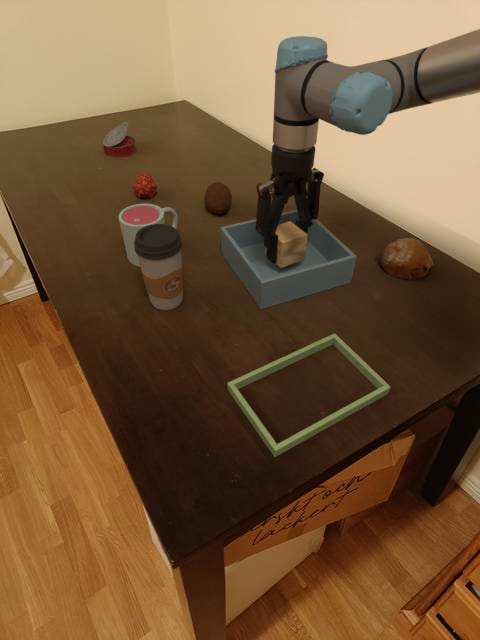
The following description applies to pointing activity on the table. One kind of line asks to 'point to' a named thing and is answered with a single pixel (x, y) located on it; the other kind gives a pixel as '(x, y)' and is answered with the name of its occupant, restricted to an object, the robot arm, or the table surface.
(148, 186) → the red bumpy ball
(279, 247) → the block
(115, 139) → the canned food
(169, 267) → the coffee cup
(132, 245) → the mug
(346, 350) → the frame
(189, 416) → the table surface
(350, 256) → the bin
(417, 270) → the bread roll
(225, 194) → the potato
